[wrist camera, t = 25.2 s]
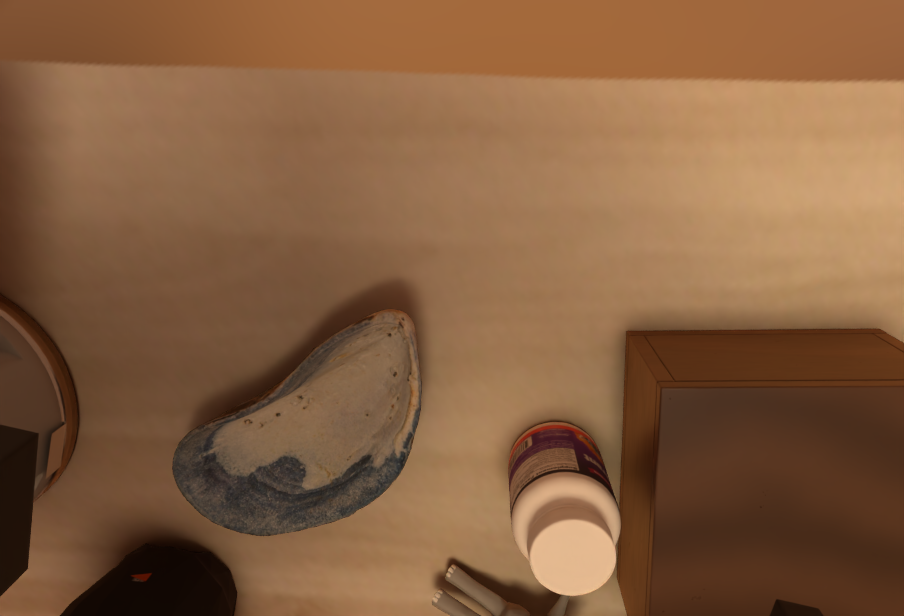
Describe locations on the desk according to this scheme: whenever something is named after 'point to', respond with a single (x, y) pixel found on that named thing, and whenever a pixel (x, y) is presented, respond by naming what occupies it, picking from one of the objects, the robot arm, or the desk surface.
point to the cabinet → (762, 472)
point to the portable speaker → (160, 586)
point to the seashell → (311, 435)
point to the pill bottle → (563, 508)
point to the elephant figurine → (483, 598)
